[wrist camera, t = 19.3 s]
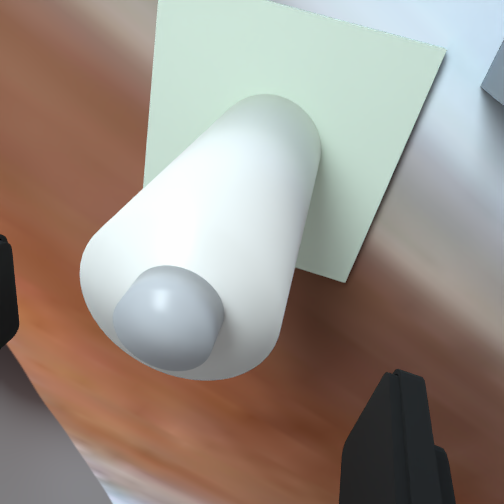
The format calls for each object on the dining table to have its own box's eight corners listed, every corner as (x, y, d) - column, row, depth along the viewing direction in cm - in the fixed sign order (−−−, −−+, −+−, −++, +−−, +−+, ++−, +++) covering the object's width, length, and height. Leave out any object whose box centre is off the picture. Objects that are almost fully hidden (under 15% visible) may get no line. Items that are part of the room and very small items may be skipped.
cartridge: (336, 112, 19) (304, 280, 8) (303, 212, 22) (246, 434, 11) (224, 80, 19) (50, 201, 8) (206, 183, 22) (59, 371, 11)
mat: (444, 48, 17) (446, 49, 17) (345, 276, 24) (345, 282, 23) (166, -27, 18) (160, -28, 18) (144, 214, 25) (140, 219, 24)
